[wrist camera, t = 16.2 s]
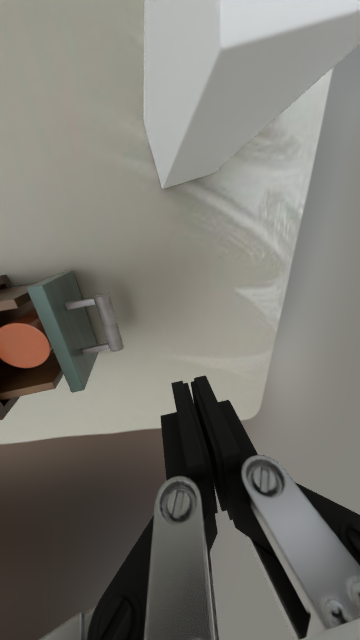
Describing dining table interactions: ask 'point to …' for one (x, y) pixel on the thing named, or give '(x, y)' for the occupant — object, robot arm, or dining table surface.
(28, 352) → the tumbler
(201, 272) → the dining table surface
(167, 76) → the milk
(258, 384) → the dining table surface
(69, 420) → the dining table surface
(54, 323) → the drawer
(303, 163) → the dining table surface
